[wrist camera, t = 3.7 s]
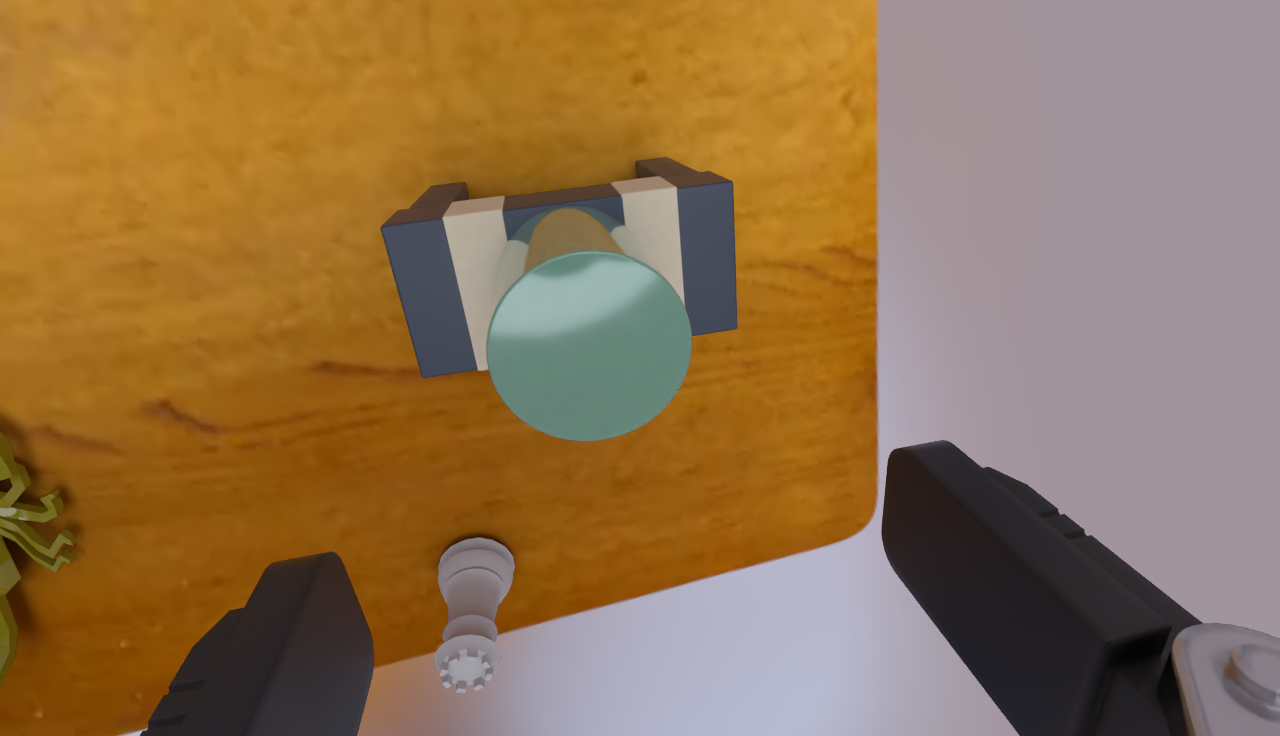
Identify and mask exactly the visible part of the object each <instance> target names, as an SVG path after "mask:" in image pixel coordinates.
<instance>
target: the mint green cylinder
mask: <svg viewBox="0 0 1280 736" xmlns="http://www.w3.org/2000/svg"><path fill="white" fill-rule="evenodd" d="M691 351H692V333H691V325H690V321H689V318H688V314H687V311H686V309H685V307H684V304H683V302H682V300H681V299H680V297H679V295H678V294H677V292H676V291H675V289H674V288H673V286H672V285H671V284H670V282H669V281H668V280H667V278H666V277H665V276H664V274H663V273H662V272H661V271H660V269H659V268H658V267H657V265H656V264H655V263H654V261H653V260H652V259H651V257H650V256H649V255H648V253H647V252H646V251H645V249H644V248H643V247H642V245H641V244H640V243H639V241H638V240H637V239H636V237H635V236H634V235H633V234H632V232H631V231H630V230H629V229H628V228H627V227H626V226H625V225H624V224H623V223H621V222H620V221H619V220H617V219H616V218H614V217H613V216H611V215H609V214H607V213H605V212H603V211H600V210H597V209H594V208H589V207H584V206H562V207H557V208H552V209H549V210H546V211H543V212H541V213H539V214H537V215H535V216H533V217H532V218H530V219H529V220H527V221H526V222H525V223H523V224H522V225H521V226H520V227H519V228H518V229H517V230H516V231H515V232H514V233H513V235H512V236H511V237H510V239H509V240H508V242H507V243H506V245H505V247H504V249H503V251H502V254H501V256H500V260H499V263H498V268H497V275H496V281H495V288H494V294H493V301H492V307H491V314H490V320H489V327H488V334H487V341H486V357H487V364H488V370H489V373H490V376H491V379H492V382H493V384H494V386H495V388H496V390H497V392H498V394H499V395H500V397H501V399H502V400H503V402H504V403H505V404H506V405H507V406H508V407H509V409H510V410H511V411H512V412H513V413H514V414H515V415H517V416H518V417H519V418H520V419H521V420H522V421H524V422H525V423H527V424H528V425H530V426H531V427H533V428H535V429H537V430H539V431H541V432H543V433H545V434H548V435H551V436H554V437H557V438H562V439H566V440H574V441H597V440H605V439H609V438H614V437H618V436H620V435H623V434H626V433H629V432H631V431H633V430H635V429H637V428H639V427H641V426H642V425H644V424H646V423H647V422H649V421H650V420H652V419H653V418H654V417H655V416H656V415H658V414H659V413H660V412H661V411H662V410H663V409H664V408H665V407H666V406H667V405H668V404H669V403H670V401H671V400H672V399H673V397H674V396H675V395H676V393H677V391H678V390H679V388H680V386H681V385H682V383H683V380H684V378H685V376H686V373H687V370H688V367H689V363H690V359H691Z"/></svg>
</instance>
